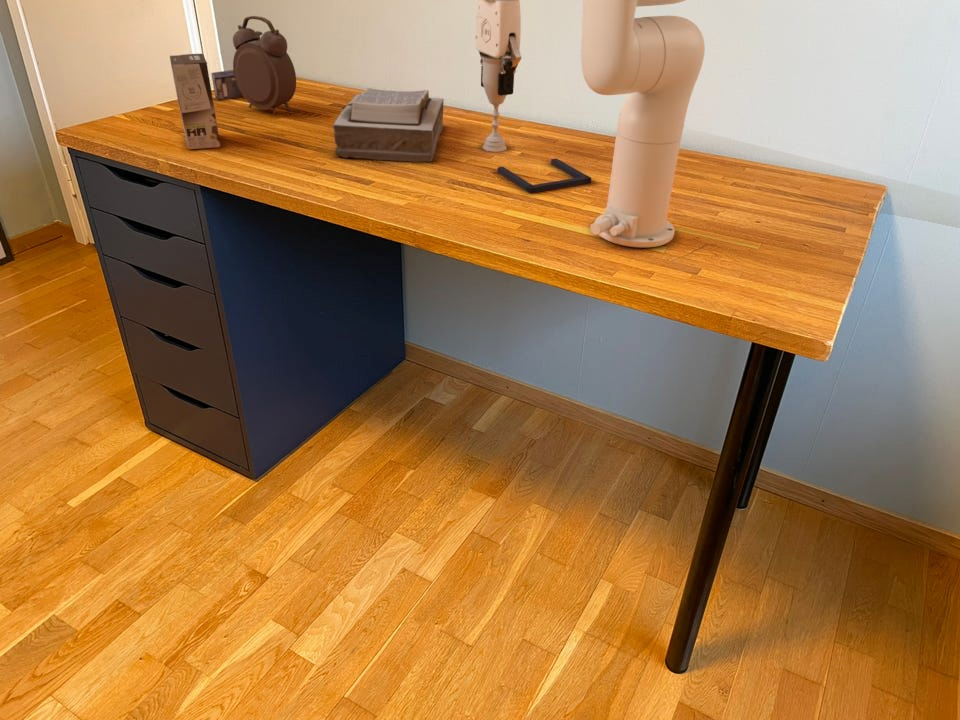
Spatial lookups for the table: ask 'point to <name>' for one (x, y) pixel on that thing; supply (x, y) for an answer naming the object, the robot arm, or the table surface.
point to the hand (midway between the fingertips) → (496, 89)
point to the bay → (578, 180)
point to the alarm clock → (263, 67)
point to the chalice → (493, 100)
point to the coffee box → (195, 100)
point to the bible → (389, 126)
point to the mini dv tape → (225, 85)
